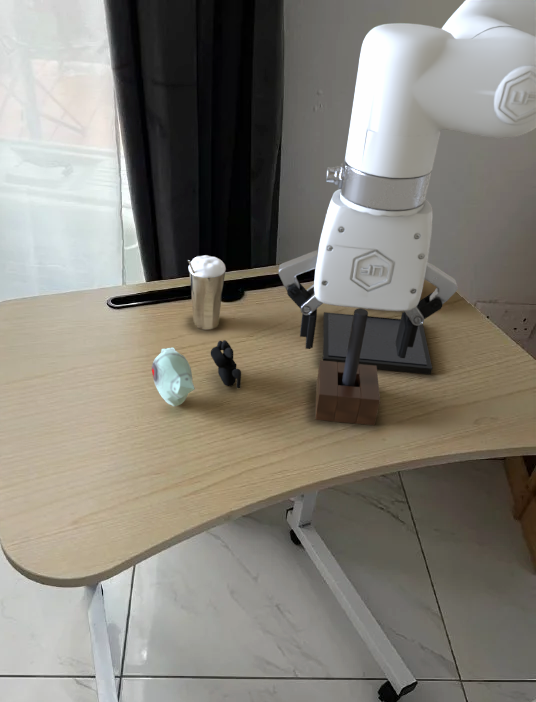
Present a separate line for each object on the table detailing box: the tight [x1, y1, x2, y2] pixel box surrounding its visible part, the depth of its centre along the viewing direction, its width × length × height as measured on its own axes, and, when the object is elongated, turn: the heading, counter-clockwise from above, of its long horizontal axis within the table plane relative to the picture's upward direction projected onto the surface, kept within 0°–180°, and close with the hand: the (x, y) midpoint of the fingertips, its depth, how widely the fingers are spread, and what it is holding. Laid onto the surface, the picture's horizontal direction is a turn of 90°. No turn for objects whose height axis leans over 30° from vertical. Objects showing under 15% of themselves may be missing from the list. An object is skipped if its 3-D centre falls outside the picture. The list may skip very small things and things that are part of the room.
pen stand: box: [314, 359, 381, 426], centre depth 73 cm, size 6×6×4 cm
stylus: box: [341, 308, 369, 387], centre depth 70 cm, size 1×1×12 cm
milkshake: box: [187, 254, 227, 331], centre depth 83 cm, size 5×5×10 cm
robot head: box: [151, 347, 196, 407], centre depth 71 cm, size 8×4×7 cm, turn 20°
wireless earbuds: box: [210, 339, 242, 390], centre depth 75 cm, size 7×2×5 cm, turn 19°
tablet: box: [322, 311, 433, 375], centre depth 84 cm, size 13×11×1 cm
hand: (354, 346), depth 69 cm, fingers open, 9 cm apart
